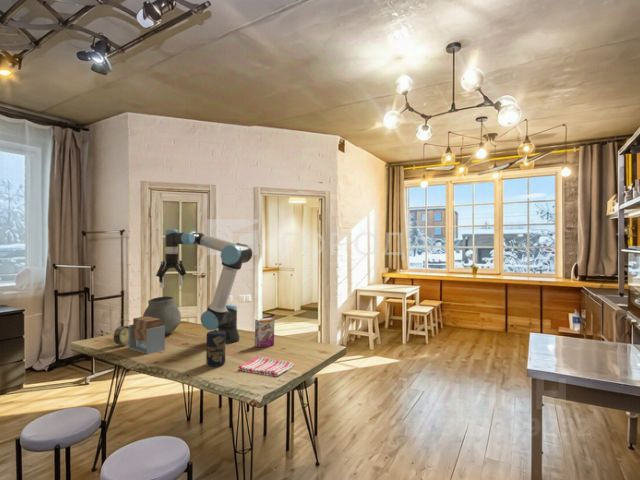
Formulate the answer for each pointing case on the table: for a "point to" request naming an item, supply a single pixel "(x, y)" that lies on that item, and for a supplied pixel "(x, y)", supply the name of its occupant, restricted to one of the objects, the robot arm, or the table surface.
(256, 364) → the dish towel
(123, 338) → the alarm clock
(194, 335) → the table surface
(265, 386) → the table surface
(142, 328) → the brown box
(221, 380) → the table surface
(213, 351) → the canister
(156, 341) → the cradle
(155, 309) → the ceramic pot
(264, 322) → the candy bar box
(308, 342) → the table surface
